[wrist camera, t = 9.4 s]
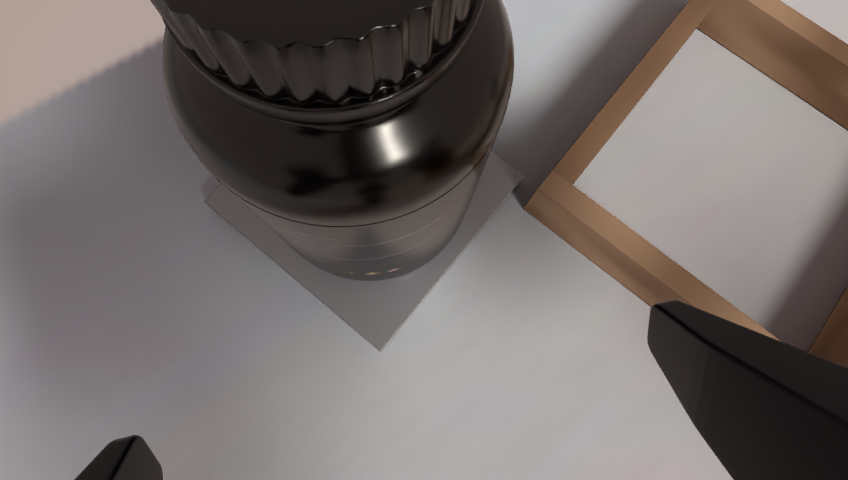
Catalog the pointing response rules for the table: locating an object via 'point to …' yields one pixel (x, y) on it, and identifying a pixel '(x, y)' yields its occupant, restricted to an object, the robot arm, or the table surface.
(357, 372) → the table surface
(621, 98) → the wooden square frame
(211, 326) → the table surface
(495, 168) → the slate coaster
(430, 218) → the supplement bottle
